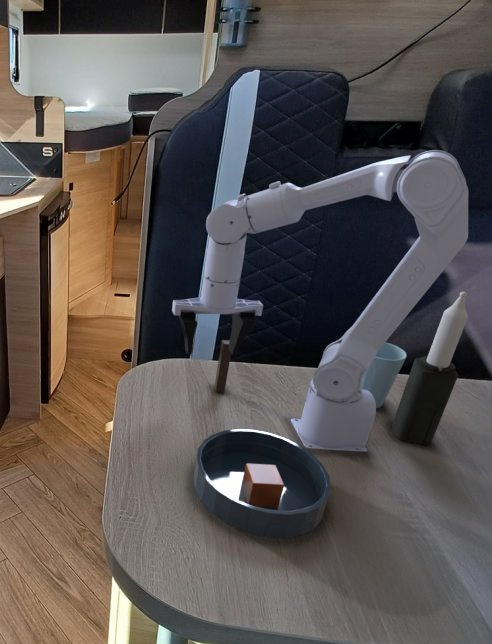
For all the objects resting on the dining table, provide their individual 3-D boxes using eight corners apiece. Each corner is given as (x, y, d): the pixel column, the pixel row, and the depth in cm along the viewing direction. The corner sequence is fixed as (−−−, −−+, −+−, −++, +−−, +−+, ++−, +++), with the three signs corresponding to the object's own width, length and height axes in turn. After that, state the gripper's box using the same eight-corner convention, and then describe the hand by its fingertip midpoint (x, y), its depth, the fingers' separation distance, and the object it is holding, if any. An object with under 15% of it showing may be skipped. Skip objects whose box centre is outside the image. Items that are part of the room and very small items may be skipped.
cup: (358, 385, 99) (373, 336, 94) (398, 405, 93) (416, 353, 88) (333, 395, 95) (347, 345, 91) (372, 416, 89) (390, 364, 85)
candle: (424, 429, 86) (478, 288, 75) (432, 447, 82) (491, 300, 71) (390, 422, 88) (438, 283, 77) (396, 440, 83) (449, 295, 72)
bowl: (298, 456, 79) (304, 432, 77) (343, 545, 64) (353, 518, 62) (185, 449, 80) (188, 426, 78) (203, 536, 65) (208, 509, 63)
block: (270, 487, 72) (275, 464, 70) (278, 508, 69) (284, 485, 67) (241, 485, 72) (245, 463, 71) (247, 506, 69) (253, 483, 67)
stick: (222, 388, 97) (230, 340, 93) (224, 392, 96) (232, 344, 91) (214, 387, 97) (221, 339, 93) (215, 392, 96) (223, 343, 91)
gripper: (257, 269, 87) (244, 341, 93) (172, 269, 87) (164, 341, 93) (273, 284, 81) (258, 360, 87) (181, 283, 80) (172, 360, 86)
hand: (210, 352), depth 89 cm, fingers open, 7 cm apart
